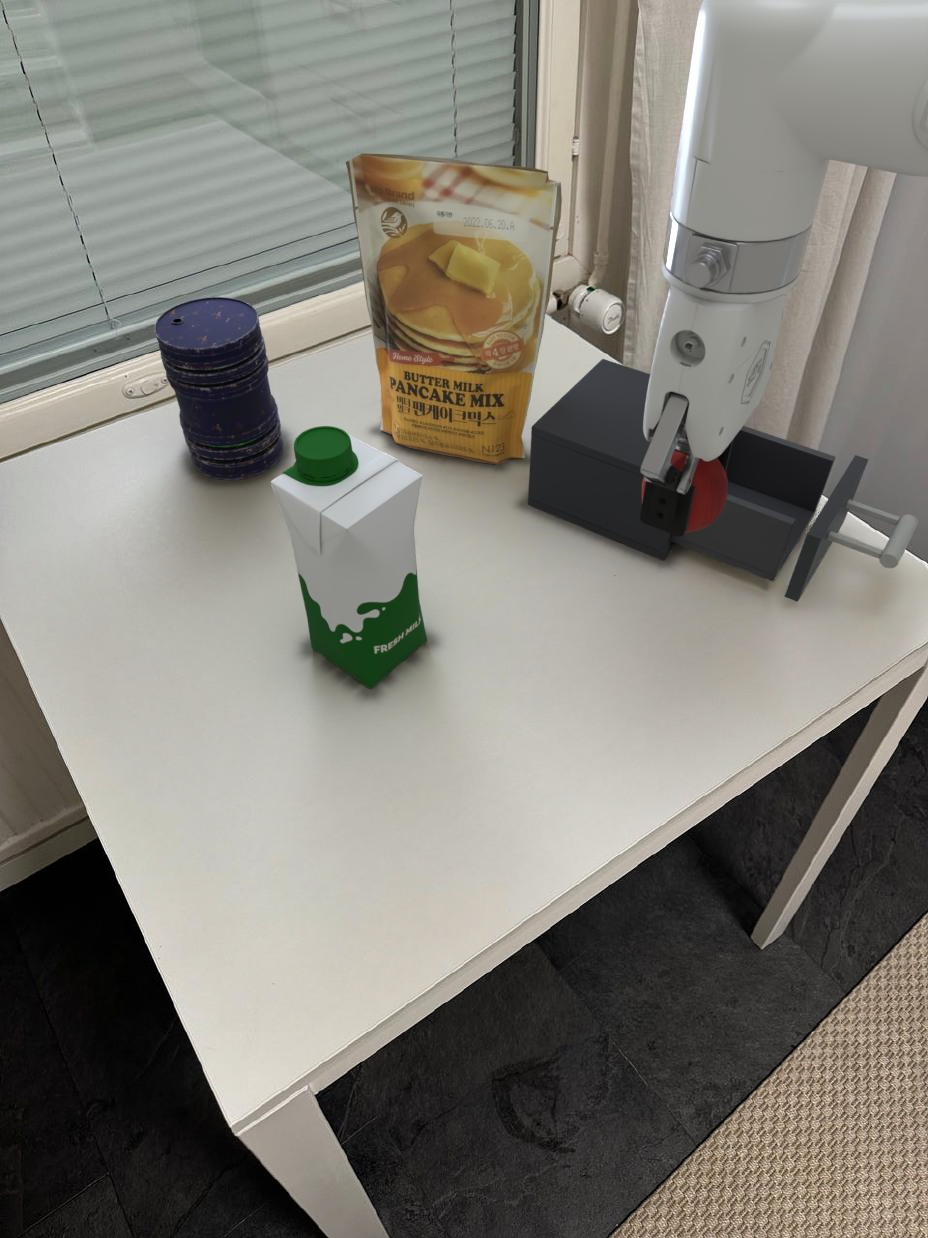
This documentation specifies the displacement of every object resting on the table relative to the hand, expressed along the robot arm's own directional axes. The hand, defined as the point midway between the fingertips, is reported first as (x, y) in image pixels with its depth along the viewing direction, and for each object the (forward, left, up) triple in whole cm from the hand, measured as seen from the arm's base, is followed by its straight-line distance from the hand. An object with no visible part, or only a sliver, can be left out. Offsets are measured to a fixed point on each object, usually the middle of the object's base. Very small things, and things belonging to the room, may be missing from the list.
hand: (683, 498), depth 62 cm
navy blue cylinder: (+38, -30, -17) cm, 52 cm away
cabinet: (-2, -21, -17) cm, 27 cm away
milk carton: (+23, -2, -17) cm, 29 cm away
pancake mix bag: (+15, -31, -17) cm, 39 cm away
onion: (0, 0, -3) cm, 3 cm away
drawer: (-14, -12, -16) cm, 25 cm away
